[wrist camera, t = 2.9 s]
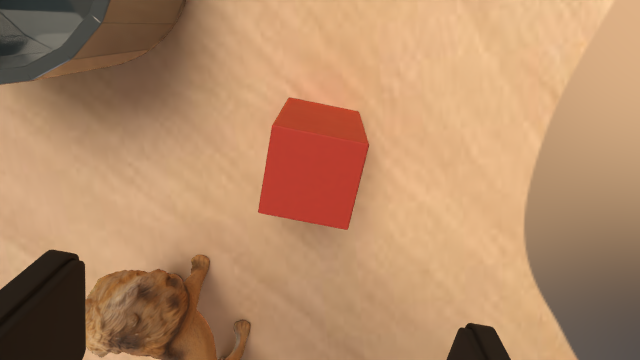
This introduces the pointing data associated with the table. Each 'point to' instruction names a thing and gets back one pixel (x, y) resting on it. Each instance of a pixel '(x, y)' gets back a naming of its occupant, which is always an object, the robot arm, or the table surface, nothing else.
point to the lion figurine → (154, 316)
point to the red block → (314, 164)
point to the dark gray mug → (78, 34)
